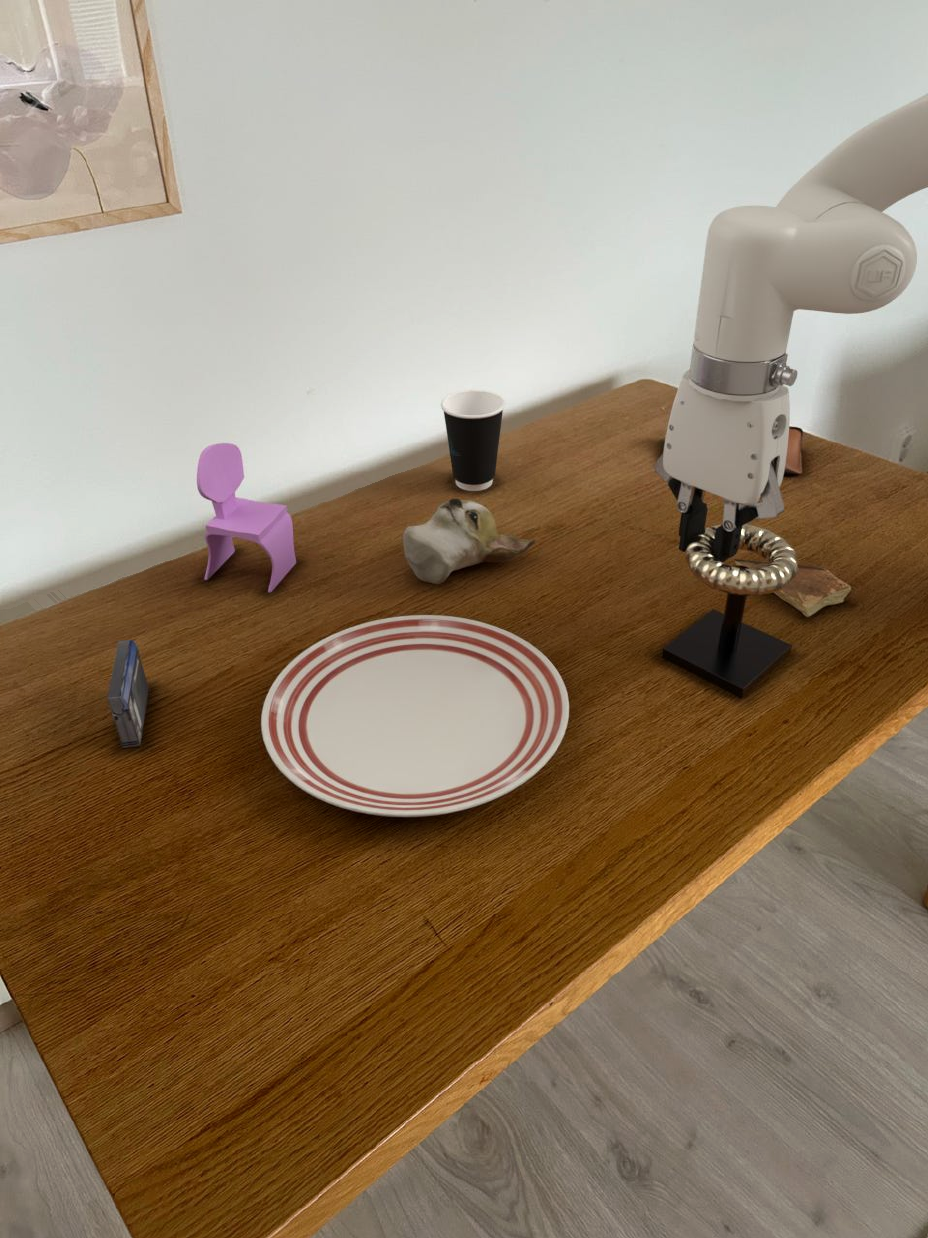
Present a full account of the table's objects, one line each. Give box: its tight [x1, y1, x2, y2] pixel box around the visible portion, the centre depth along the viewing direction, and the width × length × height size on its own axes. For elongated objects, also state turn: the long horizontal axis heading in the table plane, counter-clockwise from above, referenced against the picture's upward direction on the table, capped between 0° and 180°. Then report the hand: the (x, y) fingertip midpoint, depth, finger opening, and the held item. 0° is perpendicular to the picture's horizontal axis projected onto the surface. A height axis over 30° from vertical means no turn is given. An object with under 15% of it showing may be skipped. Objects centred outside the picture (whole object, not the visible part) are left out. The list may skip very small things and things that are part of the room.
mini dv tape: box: [107, 639, 150, 749], centre depth 89 cm, size 8×2×6 cm, turn 9°
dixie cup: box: [440, 389, 507, 492], centre depth 123 cm, size 8×8×11 cm
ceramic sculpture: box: [402, 498, 536, 585], centre depth 109 cm, size 11×9×15 cm
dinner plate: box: [260, 614, 570, 818], centre depth 89 cm, size 27×27×3 cm
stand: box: [661, 565, 793, 699], centre depth 94 cm, size 9×9×10 cm
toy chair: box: [196, 442, 297, 593], centre depth 106 cm, size 8×9×15 cm
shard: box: [733, 558, 852, 618], centre depth 106 cm, size 11×8×2 cm
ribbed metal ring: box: [684, 523, 799, 597], centre depth 90 cm, size 10×10×2 cm
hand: (706, 551), depth 93 cm, fingers closed on ribbed metal ring, 2 cm apart
